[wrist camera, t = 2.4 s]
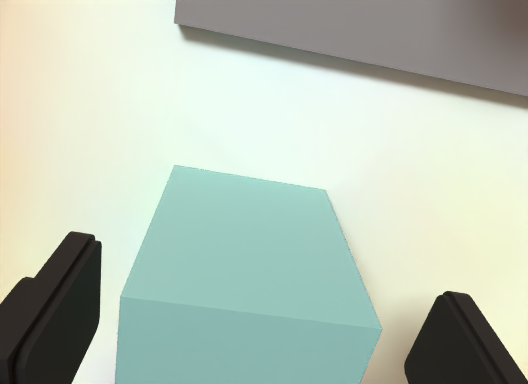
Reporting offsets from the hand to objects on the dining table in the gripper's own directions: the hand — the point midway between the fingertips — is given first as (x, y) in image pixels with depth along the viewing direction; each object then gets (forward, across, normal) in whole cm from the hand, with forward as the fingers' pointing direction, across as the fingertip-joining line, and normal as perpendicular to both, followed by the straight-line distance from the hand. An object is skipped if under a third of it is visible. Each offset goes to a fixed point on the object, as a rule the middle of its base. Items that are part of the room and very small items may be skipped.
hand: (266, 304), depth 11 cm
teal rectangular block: (+4, +1, +1) cm, 4 cm away
